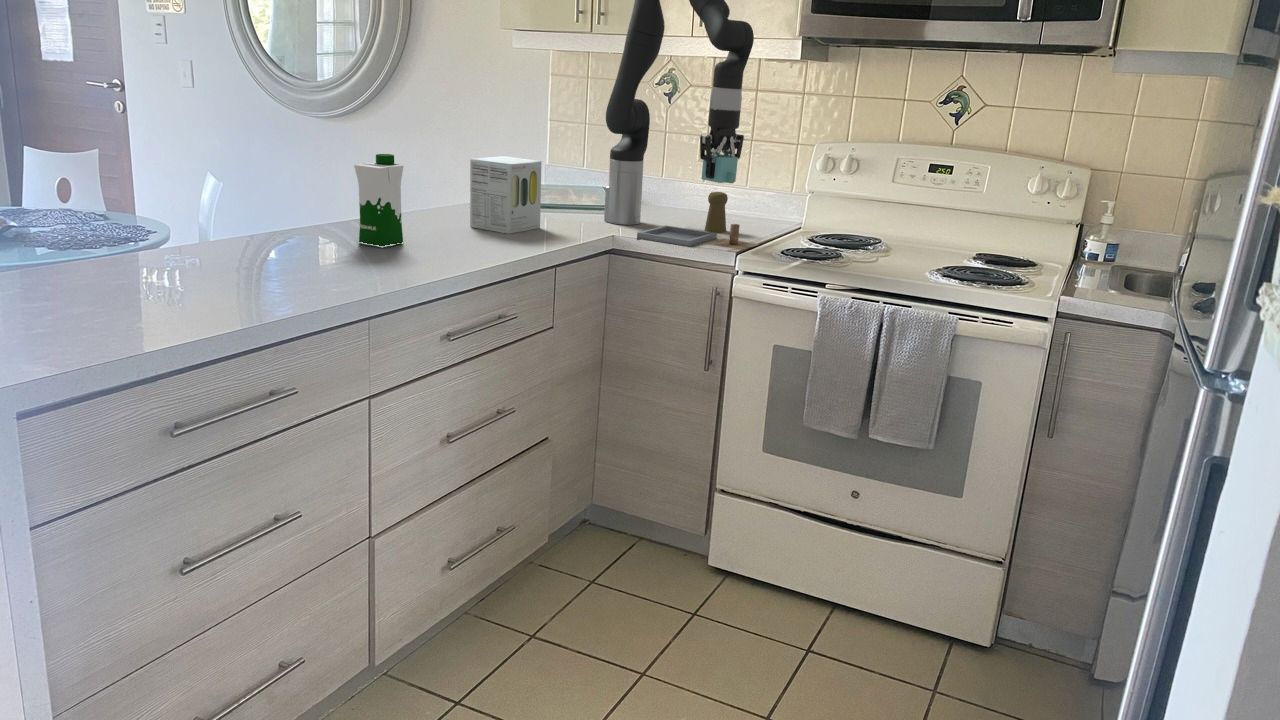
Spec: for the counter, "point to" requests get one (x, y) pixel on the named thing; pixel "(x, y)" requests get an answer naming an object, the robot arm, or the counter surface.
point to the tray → (676, 236)
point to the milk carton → (380, 201)
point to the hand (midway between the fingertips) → (718, 177)
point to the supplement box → (505, 194)
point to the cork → (716, 213)
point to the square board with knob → (734, 240)
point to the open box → (722, 169)
